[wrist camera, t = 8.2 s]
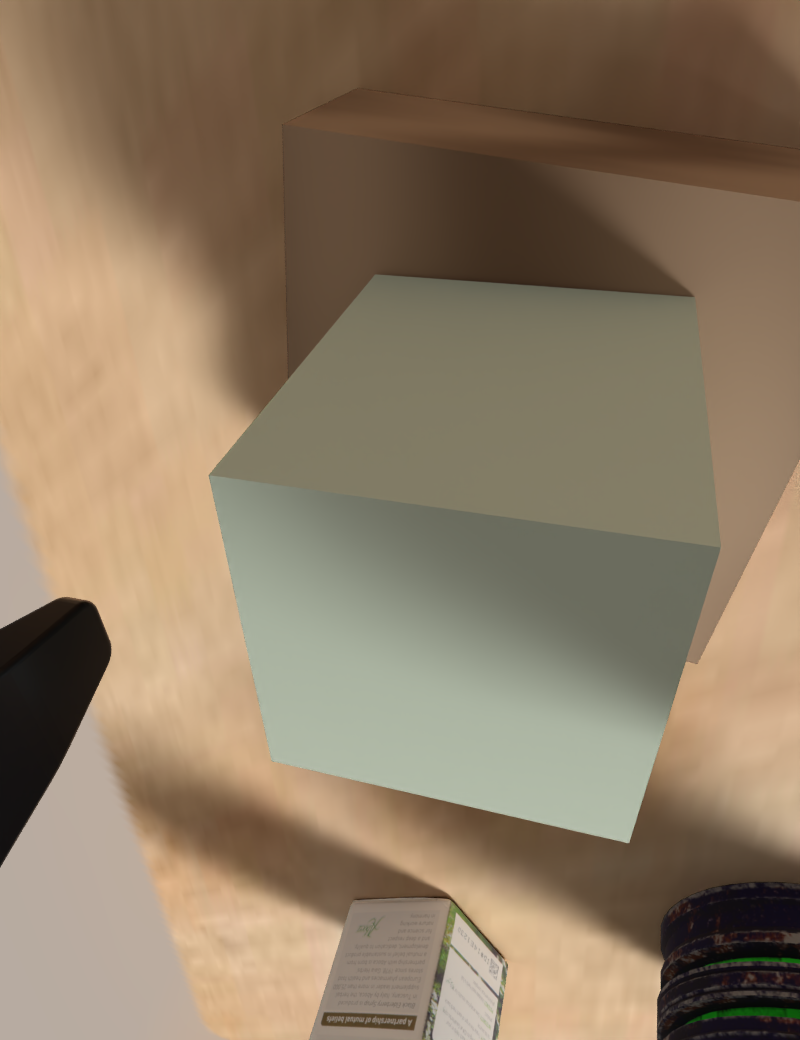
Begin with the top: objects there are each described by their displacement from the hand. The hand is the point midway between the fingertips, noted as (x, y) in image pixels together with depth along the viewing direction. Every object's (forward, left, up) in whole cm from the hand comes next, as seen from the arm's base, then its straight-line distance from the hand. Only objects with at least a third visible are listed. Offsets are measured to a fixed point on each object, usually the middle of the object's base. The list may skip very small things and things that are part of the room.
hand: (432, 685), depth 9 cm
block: (0, 0, -10) cm, 10 cm away
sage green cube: (0, 0, -6) cm, 6 cm away
